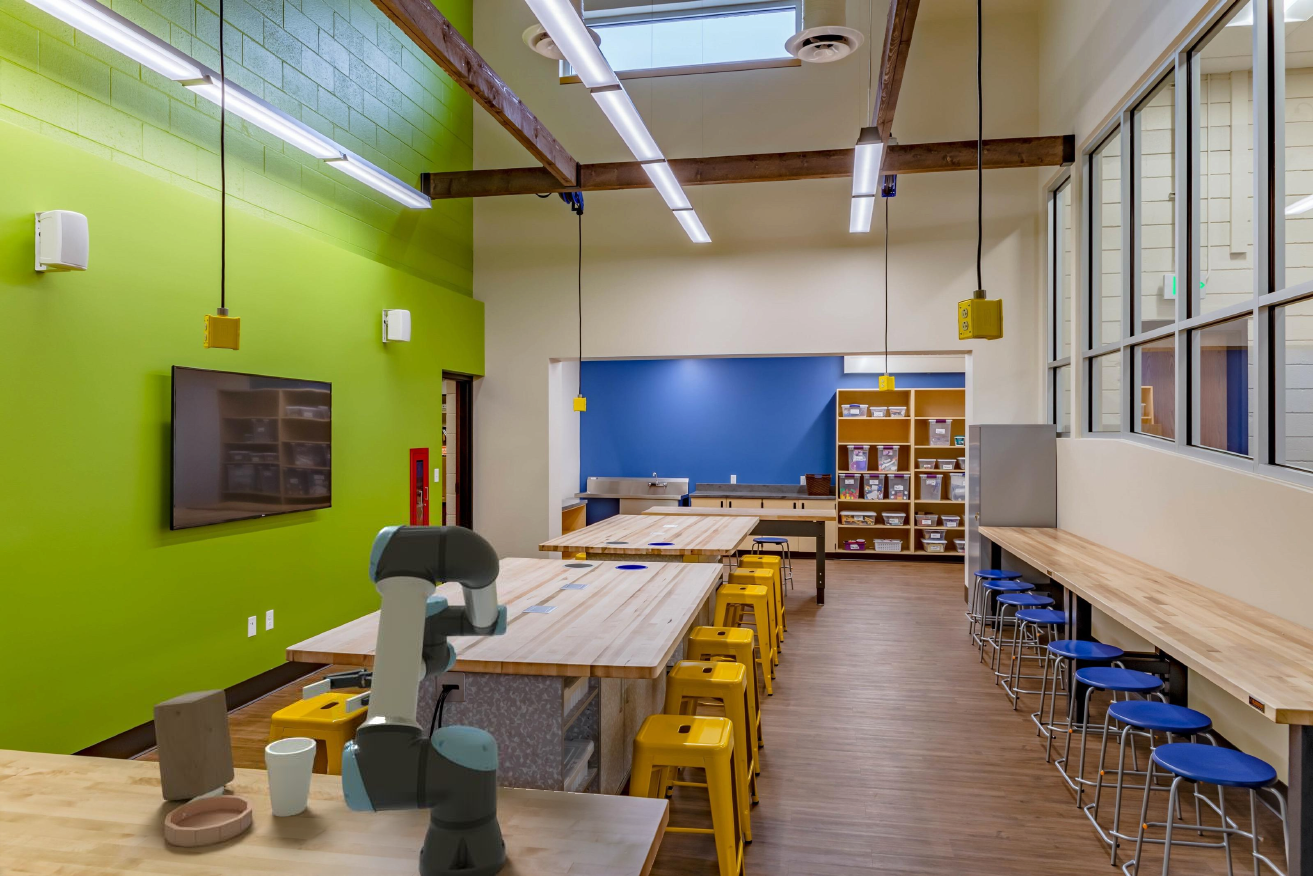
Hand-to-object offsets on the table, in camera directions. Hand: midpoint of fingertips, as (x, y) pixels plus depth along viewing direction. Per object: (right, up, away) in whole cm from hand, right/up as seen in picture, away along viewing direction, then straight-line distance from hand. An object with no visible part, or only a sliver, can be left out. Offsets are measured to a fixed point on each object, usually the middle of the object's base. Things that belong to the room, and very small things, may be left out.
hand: (324, 700), depth 169 cm
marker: (-23, -20, -5) cm, 31 cm away
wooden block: (-26, -19, 0) cm, 33 cm away
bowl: (-16, -20, -15) cm, 30 cm away
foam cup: (-5, -20, -7) cm, 22 cm away
